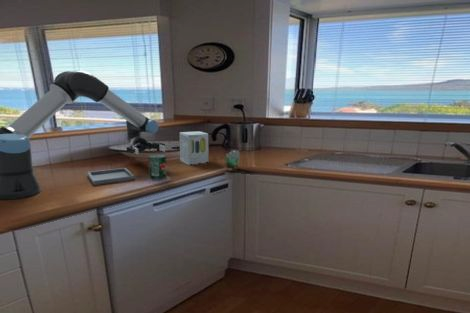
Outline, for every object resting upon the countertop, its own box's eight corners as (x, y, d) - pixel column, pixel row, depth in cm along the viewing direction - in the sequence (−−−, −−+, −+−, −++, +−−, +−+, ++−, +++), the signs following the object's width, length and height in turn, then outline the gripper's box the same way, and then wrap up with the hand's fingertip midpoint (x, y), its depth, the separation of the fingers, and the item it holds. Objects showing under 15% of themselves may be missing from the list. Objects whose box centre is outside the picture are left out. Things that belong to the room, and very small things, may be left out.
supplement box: (188, 165, 177) (187, 134, 173) (179, 160, 188) (179, 132, 184) (208, 162, 183) (208, 133, 180) (199, 158, 194) (199, 131, 191)
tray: (135, 179, 146) (134, 175, 145) (93, 185, 136) (93, 181, 136) (125, 171, 161) (125, 167, 160) (87, 175, 151) (87, 172, 151)
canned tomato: (149, 176, 152) (148, 154, 150) (165, 175, 155) (164, 153, 152) (150, 180, 145) (149, 157, 142) (167, 179, 147) (166, 156, 145)
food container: (237, 172, 161) (237, 154, 159) (225, 172, 163) (225, 153, 161) (241, 167, 173) (241, 149, 171) (230, 166, 174) (231, 149, 172)
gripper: (161, 148, 180) (174, 154, 163) (116, 152, 167) (126, 160, 150) (160, 135, 179) (174, 140, 161) (115, 139, 166) (125, 145, 148)
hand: (151, 150), depth 155 cm, fingers open, 13 cm apart
